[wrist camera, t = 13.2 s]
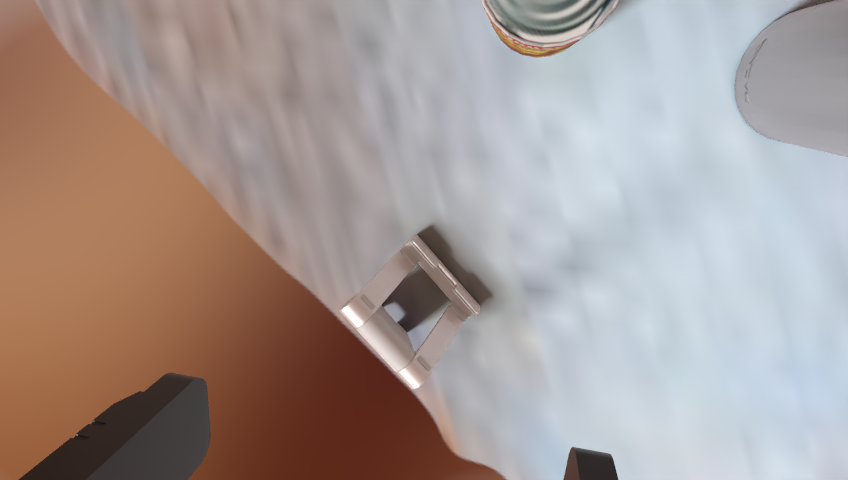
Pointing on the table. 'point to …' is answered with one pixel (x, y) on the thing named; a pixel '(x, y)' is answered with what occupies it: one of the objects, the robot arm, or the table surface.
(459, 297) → the portable electronic device stand
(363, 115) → the table surface
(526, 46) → the canned food
